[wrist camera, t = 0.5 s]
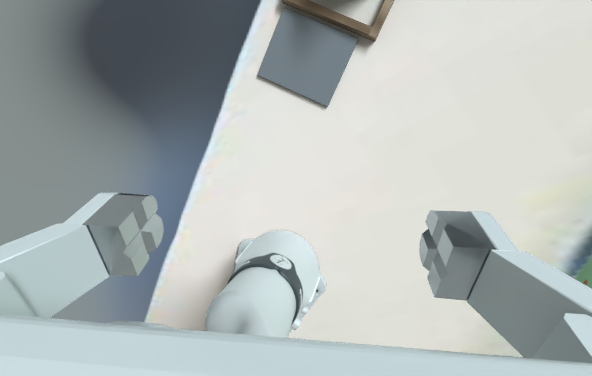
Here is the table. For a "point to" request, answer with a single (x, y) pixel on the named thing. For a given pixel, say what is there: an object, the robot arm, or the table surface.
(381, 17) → the walnut frame
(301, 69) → the charcoal mat
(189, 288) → the table surface
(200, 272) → the table surface
